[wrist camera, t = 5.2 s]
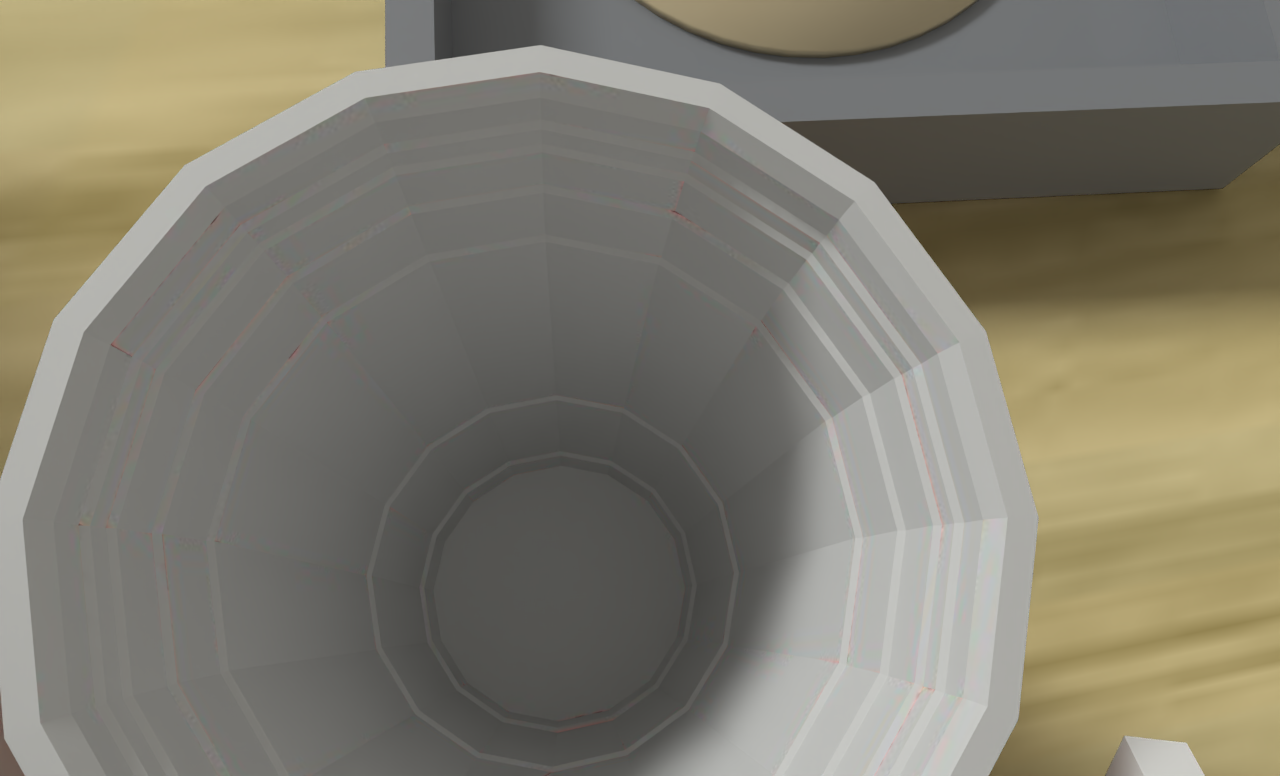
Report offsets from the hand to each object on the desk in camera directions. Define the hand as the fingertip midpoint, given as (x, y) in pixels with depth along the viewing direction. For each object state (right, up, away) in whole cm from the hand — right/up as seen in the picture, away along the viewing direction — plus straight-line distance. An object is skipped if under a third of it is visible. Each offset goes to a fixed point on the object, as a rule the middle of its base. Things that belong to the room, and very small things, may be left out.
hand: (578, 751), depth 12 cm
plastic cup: (-1, 0, +9) cm, 9 cm away
